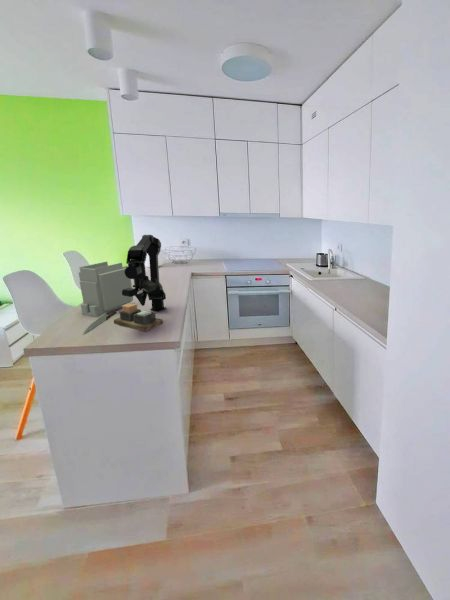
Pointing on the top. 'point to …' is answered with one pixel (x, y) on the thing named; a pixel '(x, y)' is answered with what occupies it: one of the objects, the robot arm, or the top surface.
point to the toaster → (103, 288)
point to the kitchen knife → (98, 321)
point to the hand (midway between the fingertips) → (143, 305)
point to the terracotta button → (129, 308)
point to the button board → (138, 320)
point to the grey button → (144, 313)
